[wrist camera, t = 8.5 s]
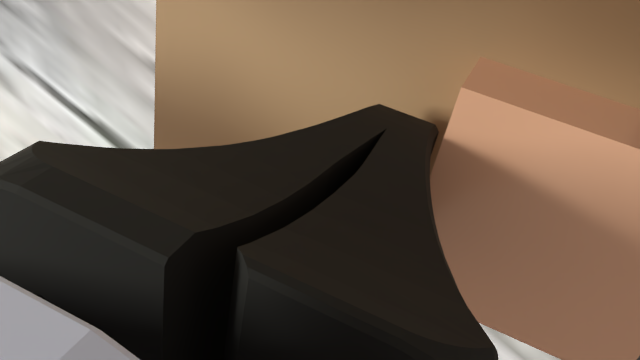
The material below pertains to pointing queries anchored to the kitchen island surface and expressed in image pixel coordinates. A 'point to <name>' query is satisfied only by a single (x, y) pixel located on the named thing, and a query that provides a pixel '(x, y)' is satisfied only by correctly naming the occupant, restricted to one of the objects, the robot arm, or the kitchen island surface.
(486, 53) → the walnut board
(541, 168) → the tile
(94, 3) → the kitchen island surface
